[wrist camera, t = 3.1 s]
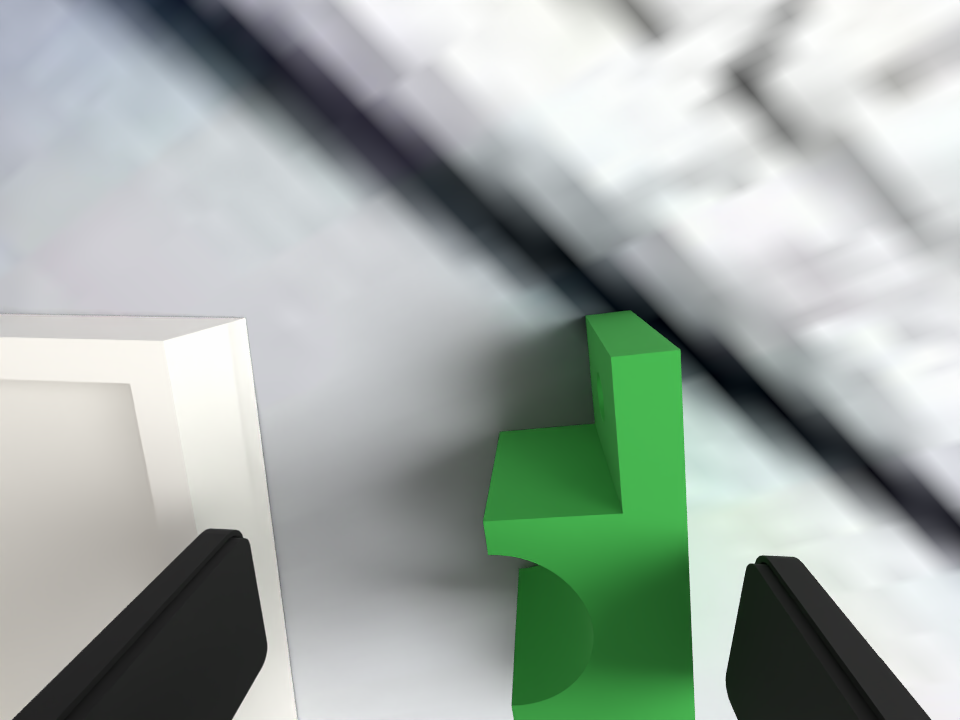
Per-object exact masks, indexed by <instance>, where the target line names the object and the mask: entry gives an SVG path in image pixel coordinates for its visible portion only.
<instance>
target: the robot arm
mask: <svg viewBox="0 0 960 720" xmlns="http://www.w3.org/2000/svg"><path fill="white" fill-rule="evenodd" d="M267 649H268V645H267V638H266V632H265V627H264V621H263V615H262V609H261V604H260V598H259V592H258V586H257V581H256V575H255V569H254V563H253V558H252V552H251V546H250V542H249V540H248V539H247V538H243V535H242V533H241V532H240V531H239V530H233V529H213V528H210V529H206V530H204V531H203V532H202V533H201V534H200V535H199V536H198V537H197V538H196V539H195V540H194V541H193V542H192V543H191V544H189V545H188V546H187V547H186V548H185V549H184V550H183V551H182V552H181V553H180V554H179V555H178V556H177V557H176V558H175V559H174V560H173V561H172V562H171V563H170V564H169V565H168V566H167V567H166V568H165V569H164V570H163V571H162V572H161V573H160V574H159V575H158V576H157V577H156V578H155V579H154V580H153V581H152V582H151V583H150V584H149V585H148V586H147V587H146V588H145V589H144V590H143V591H142V592H141V593H140V594H139V595H138V596H137V597H136V598H135V599H134V600H133V601H132V602H131V603H130V604H129V605H128V606H127V607H126V608H125V609H124V610H123V611H122V612H120V613H119V614H118V615H117V616H116V617H115V618H114V619H113V620H112V621H111V622H110V623H109V624H108V625H107V626H106V627H105V628H104V629H103V630H102V631H101V632H100V633H99V634H98V635H97V636H96V637H95V638H94V639H93V640H92V641H91V642H90V643H89V644H88V645H87V646H86V647H85V648H84V649H83V650H82V651H81V652H80V653H79V654H78V655H77V656H76V657H75V658H74V659H73V660H72V661H71V662H70V663H69V664H68V665H67V666H66V667H65V668H64V669H63V670H62V671H61V672H60V673H59V674H58V675H57V676H56V677H55V678H54V679H53V680H52V681H50V682H49V683H48V684H47V685H46V686H45V687H44V688H43V689H42V690H41V691H40V692H39V693H38V694H37V695H36V696H35V697H34V698H33V699H32V700H31V701H30V702H29V703H28V704H27V705H26V706H25V707H24V708H23V709H22V710H21V711H20V712H19V713H18V714H17V715H16V716H15V717H14V718H13V719H12V720H232V719H233V717H234V716H235V714H236V712H237V710H238V709H239V707H240V705H241V703H242V702H243V700H244V698H245V696H246V695H247V693H248V691H249V689H250V688H251V686H252V684H253V682H254V681H255V679H256V677H257V676H258V674H259V672H260V670H261V669H262V667H263V664H264V662H265V659H266V655H267ZM726 689H727V693H728V697H729V700H730V703H731V705H732V707H733V710H734V712H735V714H736V717H737V719H738V720H931V719H930V717H929V716H928V715H927V714H926V713H925V711H924V710H923V709H922V708H921V707H920V705H919V704H918V703H917V702H916V700H915V699H914V698H913V697H912V696H911V694H910V693H909V692H908V691H907V689H906V688H905V687H904V686H903V685H902V683H901V682H900V681H899V680H898V678H897V677H896V676H895V675H894V674H893V672H892V671H891V670H890V669H889V667H888V666H887V665H886V664H885V663H884V661H883V660H882V659H881V658H880V657H879V656H878V655H877V653H876V652H875V651H874V650H873V649H872V647H871V646H870V645H869V644H868V642H867V641H866V640H865V639H864V638H863V636H862V635H861V634H860V633H859V631H858V630H857V629H856V628H855V627H854V625H853V624H852V623H851V622H850V620H849V619H848V618H847V617H846V616H845V614H844V613H843V612H842V611H841V609H840V608H839V607H838V606H837V605H836V603H835V602H834V601H833V600H832V598H831V597H830V596H829V595H828V594H827V592H826V591H825V590H824V589H823V587H822V586H821V585H820V584H819V583H818V581H817V580H816V579H815V578H814V576H813V575H812V574H811V573H810V572H809V570H808V569H807V568H806V567H805V565H804V564H803V563H802V562H801V561H800V560H799V559H797V558H795V557H783V556H763V555H762V556H759V557H758V558H757V559H756V562H755V564H749V565H748V566H747V568H746V572H745V577H744V582H743V588H742V593H741V598H740V604H739V609H738V614H737V619H736V625H735V630H734V635H733V641H732V646H731V651H730V656H729V662H728V667H727V672H726Z"/></svg>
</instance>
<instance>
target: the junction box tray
mask: <svg viewBox="0 0 960 720" xmlns="http://www.w3.org/2000/svg"><path fill="white" fill-rule="evenodd" d="M210 528H213V529H233V530H239V531H240V532H241V533H242V535H243V538H247V539H248V540H249V542H250V546H251V552H252V558H253V563H254V569H255V575H256V581H257V586H258V592H259V598H260V604H261V609H262V615H263V621H264V627H265V632H266V638H267V645H268V649H267V655H266V659H265V662H264V664H263V667H262V669H261V670H260V672H259V674H258V676H257V677H256V679H255V681H254V682H253V684H252V686H251V688H250V689H249V691H248V693H247V695H246V696H245V698H244V700H243V702H242V703H241V705H240V707H239V709H238V710H237V712H236V714H235V716H234V717H233V719H232V720H297V713H296V705H295V697H294V690H293V682H292V674H291V667H290V659H289V651H288V643H287V636H286V628H285V620H284V612H283V605H282V597H281V589H280V582H279V574H278V566H277V558H276V551H275V543H274V535H273V528H272V520H271V512H270V504H269V497H268V489H267V481H266V474H265V466H264V458H263V450H262V443H261V435H260V427H259V420H258V412H257V404H256V396H255V389H254V381H253V373H252V365H251V358H250V350H249V342H248V335H247V327H246V319H245V318H214V317H156V316H99V315H41V314H0V720H12V719H13V718H14V717H15V716H16V715H17V714H18V713H19V712H20V711H21V710H22V709H23V708H24V707H25V706H26V705H27V704H28V703H29V702H30V701H31V700H32V699H33V698H34V697H35V696H36V695H37V694H38V693H39V692H40V691H41V690H42V689H43V688H44V687H45V686H46V685H47V684H48V683H49V682H50V681H52V680H53V679H54V678H55V677H56V676H57V675H58V674H59V673H60V672H61V671H62V670H63V669H64V668H65V667H66V666H67V665H68V664H69V663H70V662H71V661H72V660H73V659H74V658H75V657H76V656H77V655H78V654H79V653H80V652H81V651H82V650H83V649H84V648H85V647H86V646H87V645H88V644H89V643H90V642H91V641H92V640H93V639H94V638H95V637H96V636H97V635H98V634H99V633H100V632H101V631H102V630H103V629H104V628H105V627H106V626H107V625H108V624H109V623H110V622H111V621H112V620H113V619H114V618H115V617H116V616H117V615H118V614H119V613H120V612H122V611H123V610H124V609H125V608H126V607H127V606H128V605H129V604H130V603H131V602H132V601H133V600H134V599H135V598H136V597H137V596H138V595H139V594H140V593H141V592H142V591H143V590H144V589H145V588H146V587H147V586H148V585H149V584H150V583H151V582H152V581H153V580H154V579H155V578H156V577H157V576H158V575H159V574H160V573H161V572H162V571H163V570H164V569H165V568H166V567H167V566H168V565H169V564H170V563H171V562H172V561H173V560H174V559H175V558H176V557H177V556H178V555H179V554H180V553H181V552H182V551H183V550H184V549H185V548H186V547H187V546H188V545H189V544H191V543H192V542H193V541H194V540H195V539H196V538H197V537H198V536H199V535H200V534H201V533H202V532H203V531H204V530H206V529H210Z"/></svg>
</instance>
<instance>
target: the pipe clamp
mask: <svg viewBox="0 0 960 720" xmlns="http://www.w3.org/2000/svg"><path fill="white" fill-rule="evenodd" d="M585 317H586V328H587V340H588V351H589V363H590V374H591V386H592V397H593V408H594V420H595V424H584V425H572V426H560V427H549V428H537V429H526V430H514V431H502V432H500V434H499V439H498V444H497V450H496V455H495V460H494V466H493V471H492V476H491V482H490V487H489V492H488V498H487V503H486V508H485V513H484V519H483V525H484V531H485V538H486V544H487V550H488V555H503V556H511V557H516V558H521V559H524V560H528V561H531V562H533V563H536V564H538V565H537V566H533V567H529V568H521V569H519V577H518V596H517V615H516V634H515V652H514V671H513V690H512V711H513V717H514V720H695V706H694V681H693V656H692V631H691V606H690V581H689V556H688V531H687V506H686V481H685V456H684V431H683V406H682V381H681V356H680V349H679V348H677V347H676V346H675V345H673V344H672V343H671V342H670V341H668V340H667V339H666V338H665V337H663V336H662V335H661V334H660V333H658V332H657V331H656V330H654V329H653V328H652V327H651V326H649V325H648V324H647V323H646V322H644V321H643V320H642V319H640V318H639V317H638V316H637V315H635V314H634V313H633V312H632V311H630V310H629V311H621V312H612V313H604V314H595V315H587V316H585Z"/></svg>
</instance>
